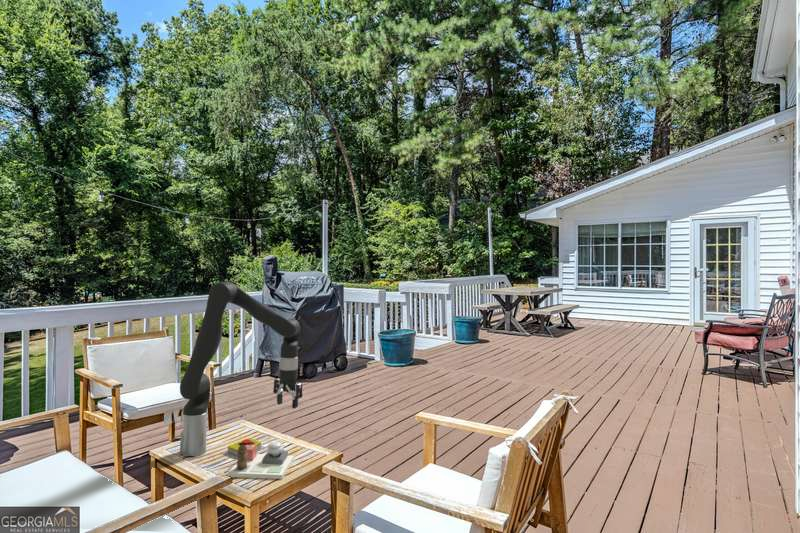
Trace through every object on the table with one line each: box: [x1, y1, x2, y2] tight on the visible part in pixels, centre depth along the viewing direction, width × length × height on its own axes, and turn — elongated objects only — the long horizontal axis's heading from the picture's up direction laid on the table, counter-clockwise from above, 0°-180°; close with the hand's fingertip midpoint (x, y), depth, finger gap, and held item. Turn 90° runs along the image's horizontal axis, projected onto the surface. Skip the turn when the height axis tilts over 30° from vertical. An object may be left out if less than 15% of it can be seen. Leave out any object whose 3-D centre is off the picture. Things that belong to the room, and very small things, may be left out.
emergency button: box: [223, 437, 265, 460], centre depth 190 cm, size 9×4×15 cm
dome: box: [266, 441, 285, 457], centre depth 179 cm, size 6×6×4 cm
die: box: [245, 445, 258, 461], centre depth 180 cm, size 4×4×5 cm
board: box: [227, 450, 295, 480], centre depth 175 cm, size 21×17×4 cm
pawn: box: [236, 445, 247, 470], centre depth 171 cm, size 4×4×9 cm
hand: (287, 405), depth 184 cm, fingers open, 8 cm apart
